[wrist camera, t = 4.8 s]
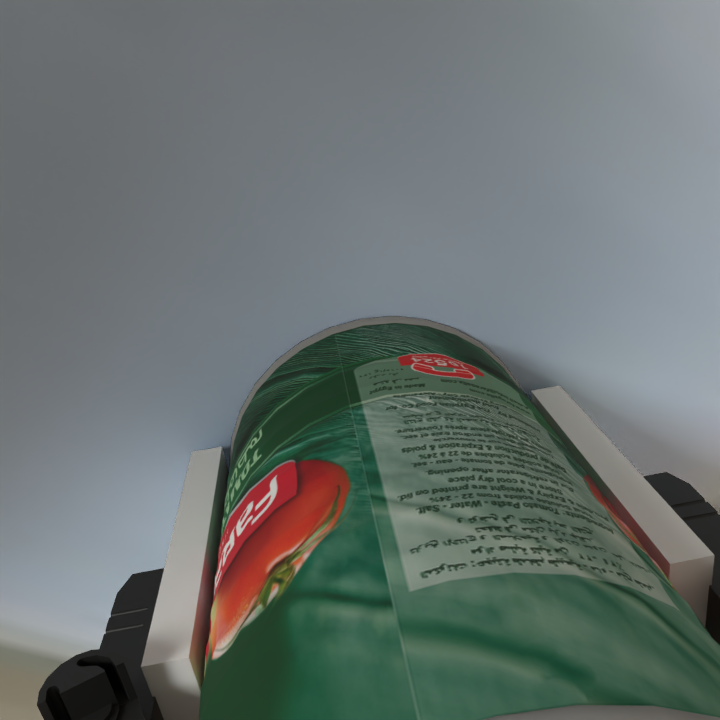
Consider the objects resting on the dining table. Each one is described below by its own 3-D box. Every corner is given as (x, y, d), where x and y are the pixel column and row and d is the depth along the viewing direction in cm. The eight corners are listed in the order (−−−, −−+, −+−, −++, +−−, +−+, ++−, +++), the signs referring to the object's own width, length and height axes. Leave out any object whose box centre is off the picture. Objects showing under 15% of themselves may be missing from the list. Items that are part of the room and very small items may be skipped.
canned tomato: (179, 375, 16) (1, 905, 6) (495, 270, 16) (887, 621, 6) (292, 612, 19) (305, 1218, 9) (554, 527, 19) (871, 1046, 9)
